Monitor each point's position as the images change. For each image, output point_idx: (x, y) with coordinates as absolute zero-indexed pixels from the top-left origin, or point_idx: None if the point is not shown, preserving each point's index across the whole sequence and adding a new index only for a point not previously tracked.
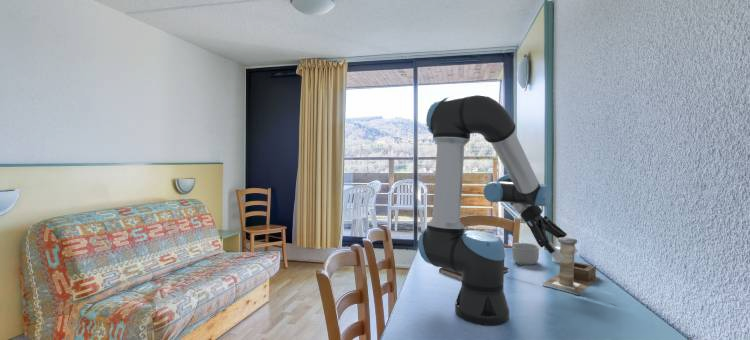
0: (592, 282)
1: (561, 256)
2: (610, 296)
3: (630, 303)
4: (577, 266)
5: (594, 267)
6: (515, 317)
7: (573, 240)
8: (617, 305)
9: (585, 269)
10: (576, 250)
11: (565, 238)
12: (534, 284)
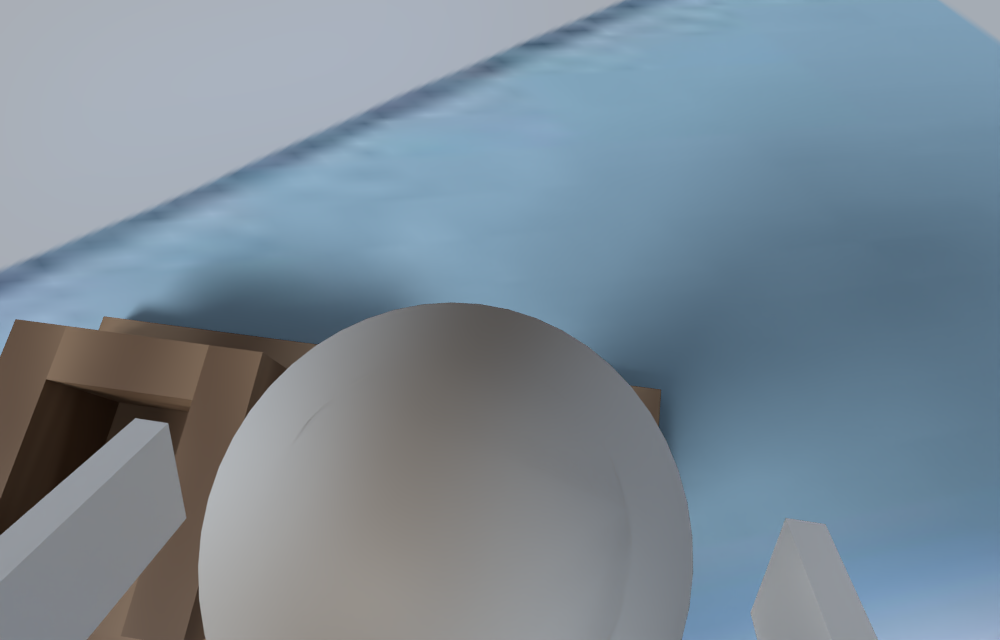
0: (288, 348)
1: (837, 563)
2: (489, 220)
3: (546, 115)
4: (26, 498)
5: (66, 327)
6: None
7: (516, 368)
8: (647, 169)
9: (208, 386)
10: (156, 437)
11: (385, 605)
12: None
